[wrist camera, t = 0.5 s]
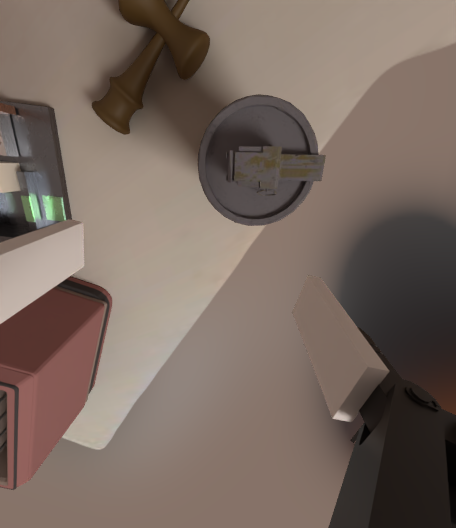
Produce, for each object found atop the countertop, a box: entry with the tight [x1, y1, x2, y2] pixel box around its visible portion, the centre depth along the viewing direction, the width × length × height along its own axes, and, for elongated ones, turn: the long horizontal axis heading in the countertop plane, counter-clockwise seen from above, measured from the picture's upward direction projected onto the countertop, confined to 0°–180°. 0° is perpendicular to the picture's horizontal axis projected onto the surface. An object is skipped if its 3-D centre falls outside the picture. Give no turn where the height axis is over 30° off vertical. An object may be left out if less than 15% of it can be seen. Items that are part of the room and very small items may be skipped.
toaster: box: [0, 277, 112, 490], centre depth 42 cm, size 19×34×20 cm, turn 158°
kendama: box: [92, 0, 210, 134], centre depth 29 cm, size 6×10×20 cm
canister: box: [198, 94, 325, 226], centre depth 26 cm, size 11×10×20 cm
